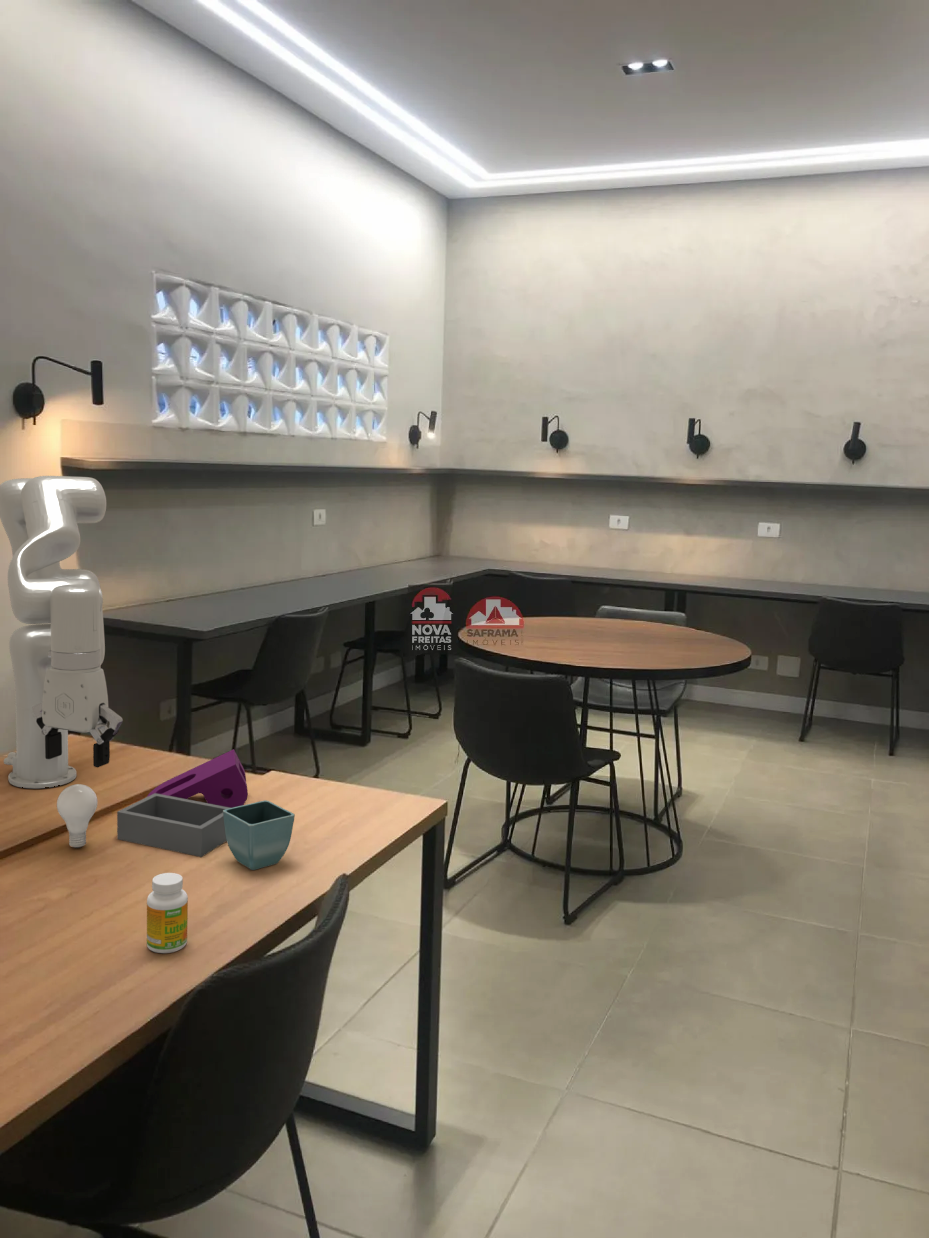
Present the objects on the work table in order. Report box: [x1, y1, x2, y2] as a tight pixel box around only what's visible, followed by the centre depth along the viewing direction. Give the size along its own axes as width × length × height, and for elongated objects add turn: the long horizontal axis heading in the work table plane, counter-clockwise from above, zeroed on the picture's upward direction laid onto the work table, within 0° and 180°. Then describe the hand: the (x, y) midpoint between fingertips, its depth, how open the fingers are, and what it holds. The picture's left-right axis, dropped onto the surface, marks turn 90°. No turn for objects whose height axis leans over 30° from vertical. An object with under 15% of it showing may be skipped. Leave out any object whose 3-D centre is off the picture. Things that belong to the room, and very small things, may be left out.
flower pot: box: [223, 800, 296, 871], centre depth 162 cm, size 9×9×9 cm
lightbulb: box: [56, 783, 98, 849], centre depth 164 cm, size 6×6×11 cm
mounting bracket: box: [146, 748, 249, 808], centre depth 187 cm, size 9×8×18 cm
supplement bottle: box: [146, 872, 189, 954], centre depth 134 cm, size 5×5×10 cm
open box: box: [116, 793, 229, 858], centre depth 171 cm, size 17×10×5 cm, turn 71°
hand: (77, 761), depth 162 cm, fingers open, 9 cm apart
